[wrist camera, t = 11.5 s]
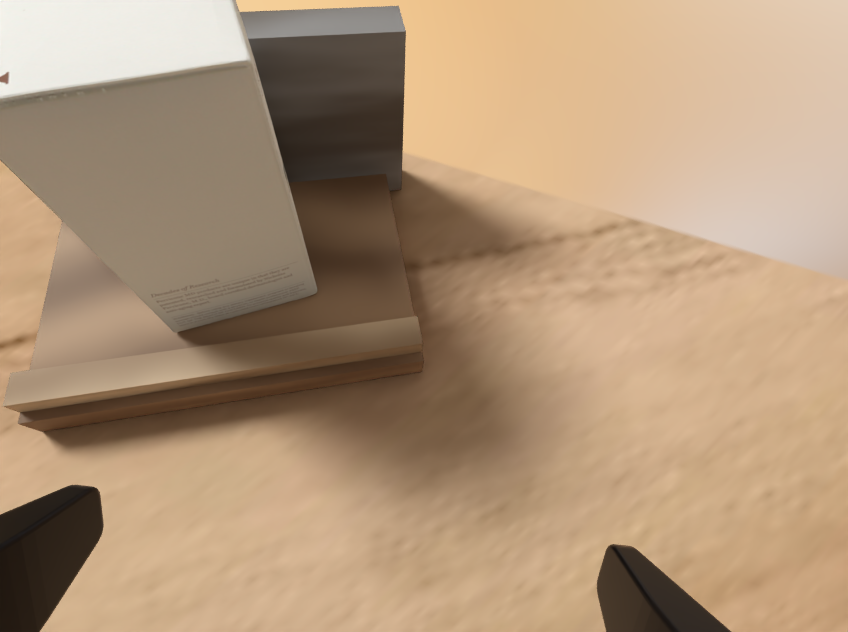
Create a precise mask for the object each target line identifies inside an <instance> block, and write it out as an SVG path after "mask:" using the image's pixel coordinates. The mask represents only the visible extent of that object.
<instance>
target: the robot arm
mask: <svg viewBox="0 0 848 632" xmlns="http://www.w3.org/2000/svg"><path fill="white" fill-rule="evenodd" d="M102 531H103V515H102V506H101V498H100V492H99V491H98V489H97V488H95V487H90V486H81V485H70V486H67V487H65V488H62V489H60V490H58V491H55V492H53V493H50V494H48V495H46V496H43V497H41V498H39V499H36V500H34V501H32V502H29V503H27V504H24V505H22V506H20V507H17V508H15V509H13V510H10V511H8V512H5V513H3V514H1V515H0V632H40V630H41V629H42V627H43V626H44V625H45V623H46V622H47V620H48V619H49V617H50V616H51V614H52V613H53V611H54V609H55V608H56V606H57V605H58V603H59V602H60V600H61V599H62V597H63V596H64V594H65V592H66V591H67V589H68V588H69V586H70V585H71V583H72V582H73V580H74V578H75V577H76V575H77V574H78V572H79V571H80V569H81V568H82V566H83V564H84V563H85V561H86V560H87V558H88V557H89V555H90V554H91V552H92V551H93V549H94V547H95V546H96V544H97V543H98V541H99V539H100V537H101V535H102ZM597 593H598V598H599V602H600V606H601V611H602V615H603V619H604V624H605V628H606V632H731V631H730V630H729V629H728V628H726V627H725V626H724V625H723V624H722V623H721V622H719V621H718V620H717V619H716V618H715V617H714V616H713V615H711V614H710V613H709V612H708V611H707V610H706V609H705V608H703V607H702V606H701V605H700V604H699V603H698V602H697V601H695V600H694V599H693V598H692V597H691V596H690V595H688V594H687V593H686V592H685V591H684V590H683V589H682V588H680V587H679V586H678V585H677V584H676V583H675V582H674V581H672V580H671V579H670V578H669V577H668V576H667V575H665V574H664V573H663V572H662V571H661V570H660V569H659V568H657V567H656V566H655V565H654V564H653V563H652V562H651V561H649V560H648V559H647V558H646V557H645V556H644V555H643V554H641V553H640V552H639V551H638V550H637V549H635V548H634V547H631V546H625V545H616V544H612V545H610V546H608V548H607V549H606V552H605V555H604V559H603V562H602V566H601V569H600V572H599V576H598V580H597Z"/></svg>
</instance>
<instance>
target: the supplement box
mask: <svg viewBox="0 0 848 632" xmlns="http://www.w3.org/2000/svg"><path fill="white" fill-rule="evenodd" d="M0 159H1V160H2V161H3V162H4V163H5V164H6V165H7V166H8V167H9V168H10V169H11V170H12V171H13V172H14V173H15V174H16V175H17V176H18V177H19V178H20V179H21V180H22V181H23V182H24V183H25V184H26V185H27V186H28V187H29V188H30V189H31V190H32V191H33V192H34V193H35V194H36V195H37V196H38V197H39V198H40V199H41V200H42V201H43V202H44V203H45V204H46V205H47V206H48V207H49V208H50V209H51V210H52V211H53V212H54V213H55V214H56V215H57V216H58V217H59V218H60V219H61V220H62V221H63V222H64V223H65V224H66V225H67V226H68V227H69V228H70V229H71V230H72V231H73V232H74V233H75V234H76V235H77V236H78V237H79V238H80V239H81V240H82V241H83V242H84V243H85V244H86V245H87V246H88V247H89V248H90V249H91V250H92V251H93V252H94V253H95V254H96V255H97V256H98V257H99V258H100V259H101V260H102V261H103V262H104V263H105V264H106V265H107V266H108V267H109V268H110V269H111V270H112V271H113V272H114V273H115V274H116V275H117V276H118V277H119V278H120V279H121V280H122V281H123V282H124V283H125V284H126V285H127V286H128V287H129V288H130V289H131V290H132V291H133V292H134V293H135V294H136V295H137V296H138V297H139V298H140V299H141V300H142V301H143V302H144V303H145V304H146V305H147V306H148V307H149V308H150V309H151V310H152V311H153V312H154V313H155V314H156V315H157V316H158V317H159V318H160V319H161V320H162V321H163V322H164V323H165V324H166V325H167V326H168V327H169V328H170V329H171V330H172V332H179V331H184V330H188V329H191V328H195V327H199V326H203V325H206V324H210V323H214V322H218V321H221V320H225V319H229V318H233V317H236V316H240V315H243V314H247V313H251V312H255V311H258V310H262V309H266V308H269V307H273V306H276V305H280V304H284V303H287V302H290V301H295V300H298V299H302V298H305V297H308V296H311V295H314V294H316V293H317V286H316V282H315V279H314V275H313V271H312V268H311V264H310V260H309V257H308V253H307V249H306V246H305V242H304V238H303V234H302V231H301V227H300V223H299V220H298V216H297V212H296V209H295V205H294V201H293V197H292V194H291V190H290V186H289V183H288V179H287V175H286V172H285V168H284V164H283V161H282V157H281V154H280V150H279V146H278V143H277V139H276V135H275V132H274V128H273V125H272V121H271V117H270V114H269V110H268V107H267V103H266V99H265V96H264V92H263V89H262V85H261V81H260V78H259V74H258V71H257V67H256V63H255V60H254V56H253V53H252V50H251V47H250V43H249V40H248V37H247V34H246V30H245V27H244V24H243V21H242V18H241V15H240V12H239V9H238V6H237V4H236V0H0Z"/></svg>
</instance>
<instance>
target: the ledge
mask: <svg viewBox="0 0 848 632" xmlns="http://www.w3.org/2000/svg"><path fill="white" fill-rule="evenodd" d="M240 15H241V18H242V21H243V24H244V27H245V30H246V34H247V37H248V40H249V43H250V47H251V50H252V53H253V56H254V60H255V63H256V67H257V71H258V74H259V78H260V81H261V85H262V89H263V92H264V96H265V99H266V103H267V107H268V110H269V114H270V117H271V121H272V125H273V128H274V132H275V135H276V139H277V143H278V146H279V150H280V154H281V157H282V161H283V164H284V168H285V172H286V175H287V179H288V183H289V186H290V190H291V194H292V197H293V201H294V205H295V209H296V212H297V216H298V220H299V223H300V227H301V231H302V234H303V238H304V242H305V246H306V249H307V253H308V257H309V260H310V264H311V268H312V271H313V275H314V279H315V282H316V286H317V293H316V294H314V295H311V296H308V297H305V298H302V299H298V300H295V301H290V302H287V303H284V304H280V305H276V306H273V307H269V308H266V309H262V310H258V311H255V312H251V313H247V314H243V315H240V316H236V317H233V318H229V319H225V320H221V321H218V322H214V323H210V324H206V325H203V326H199V327H195V328H191V329H188V330H184V331H179V332H172V330H171V329H170V328H169V327H168V326H167V325H166V324H165V323H164V322H163V321H162V320H161V319H160V318H159V317H158V316H157V315H156V314H155V313H154V312H153V311H152V310H151V309H150V308H149V307H148V306H147V305H146V304H145V303H144V302H143V301H142V300H141V299H140V298H139V297H138V296H137V295H136V294H135V293H134V292H133V291H132V290H131V289H130V288H129V287H128V286H127V285H126V284H125V283H124V282H123V281H122V280H121V279H120V278H119V277H118V276H117V275H116V274H115V273H114V272H113V271H112V270H111V269H110V268H109V267H108V266H107V265H106V264H105V263H104V262H103V261H102V260H101V259H100V258H99V257H98V256H97V255H96V254H95V253H94V252H93V251H92V250H91V249H90V248H89V247H88V246H87V245H86V244H85V243H84V242H83V241H82V240H81V239H80V238H79V237H78V236H77V235H76V234H75V233H74V232H73V231H72V230H71V229H70V228H69V227H68V226H67V225H66V224H65V223H64V222H63V221H62V224H61V229H60V233H59V238H58V243H57V247H56V252H55V256H54V261H53V265H52V270H51V275H50V279H49V284H48V288H47V293H46V297H45V302H44V307H43V311H42V316H41V320H40V325H39V330H38V334H37V339H36V343H35V348H34V352H33V357H32V362H31V366H30V370H28V371H21V372H14V373H10V378H9V382H8V386H7V390H6V394H5V399H4V403H3V407H6V408H9V409H12V410H14V411H17V412H20V416H19V421H18V424H20V425H23V426H26V427H29V428H32V429H35V430H39V431H42V432H43V431H49V430H55V429H62V428H68V427H74V426H81V425H87V424H93V423H100V422H106V421H112V420H119V419H125V418H131V417H138V416H144V415H150V414H156V413H163V412H169V411H175V410H182V409H188V408H194V407H201V406H207V405H213V404H220V403H226V402H232V401H239V400H245V399H251V398H258V397H264V396H270V395H277V394H283V393H289V392H295V391H302V390H308V389H314V388H321V387H327V386H333V385H340V384H346V383H352V382H359V381H365V380H371V379H378V378H384V377H390V376H397V375H403V374H409V373H416V372H422V368H423V362H424V360H423V355H422V347H423V341H422V336H421V331H420V326H419V321H418V316H415V315H414V310H413V305H412V301H411V296H410V291H409V286H408V281H407V276H406V271H405V266H404V261H403V256H402V251H401V246H400V241H399V236H398V231H397V226H396V221H395V216H394V211H393V207H392V202H391V197H390V192H389V191H391V190H401V186H402V150H403V148H402V147H403V113H404V75H405V38H406V31H405V27H404V24H403V21H402V17H401V13H400V9H399V6H388V7H387V6H386V7H359V8H333V9H308V10H281V11H256V12H240ZM0 160H1V159H0ZM1 161H2V160H1ZM2 162H3V161H2ZM3 163H4V162H3ZM4 164H5V163H4ZM5 165H6V164H5ZM6 166H7V165H6ZM7 167H8V166H7ZM8 168H9V167H8ZM9 169H10V168H9ZM10 170H11V169H10ZM11 171H12V170H11ZM12 172H13V171H12ZM13 173H14V172H13ZM14 174H15V173H14ZM15 175H16V174H15ZM16 176H17V175H16ZM17 177H18V176H17ZM18 178H19V177H18ZM19 179H20V178H19ZM20 180H21V179H20ZM21 181H22V180H21ZM22 182H23V181H22ZM23 183H24V182H23ZM24 184H25V183H24ZM25 185H26V184H25ZM26 186H27V185H26ZM27 187H28V186H27ZM28 188H29V187H28ZM29 189H30V188H29ZM30 190H31V189H30ZM31 191H32V190H31ZM32 192H33V191H32Z"/></svg>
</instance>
